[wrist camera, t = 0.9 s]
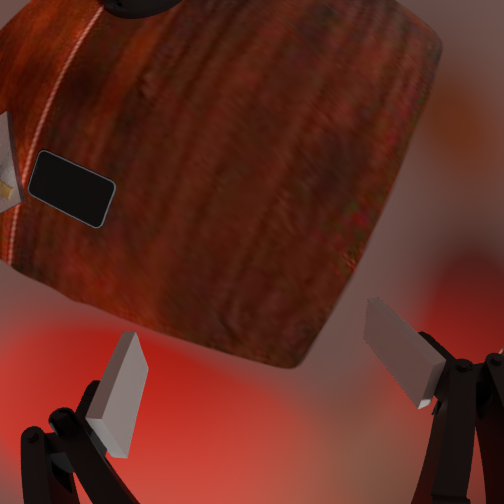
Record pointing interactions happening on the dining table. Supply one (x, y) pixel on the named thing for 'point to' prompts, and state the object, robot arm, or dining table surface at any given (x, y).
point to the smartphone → (71, 188)
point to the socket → (9, 166)
